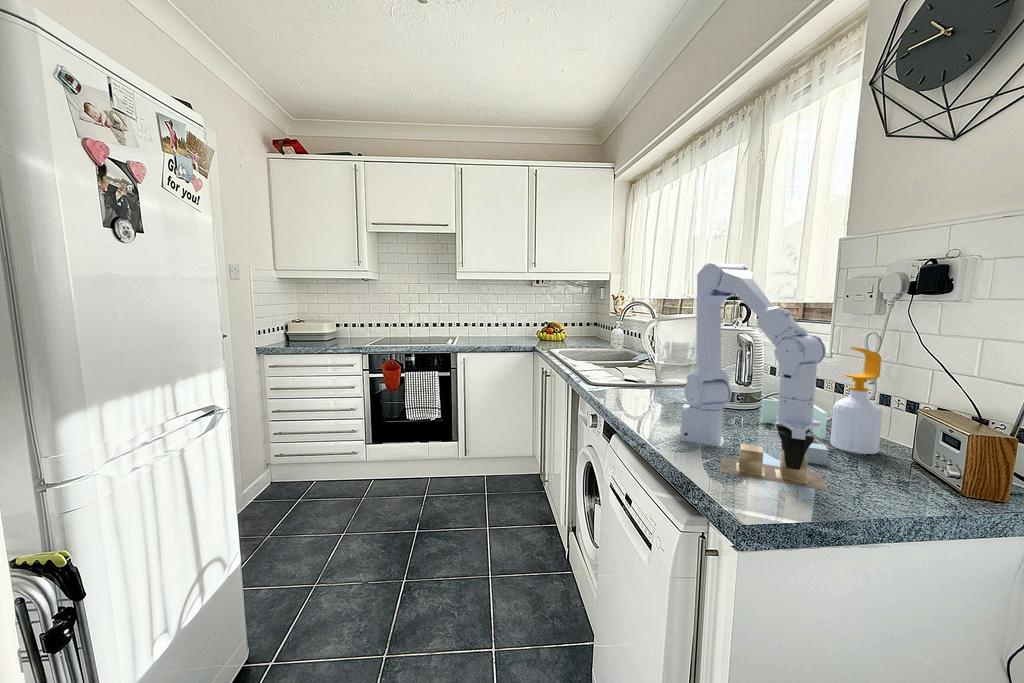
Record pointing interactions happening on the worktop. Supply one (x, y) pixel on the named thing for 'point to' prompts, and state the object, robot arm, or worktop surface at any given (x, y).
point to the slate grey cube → (817, 454)
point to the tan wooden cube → (794, 470)
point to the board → (773, 474)
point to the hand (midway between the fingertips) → (791, 464)
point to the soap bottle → (858, 413)
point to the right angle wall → (772, 412)
